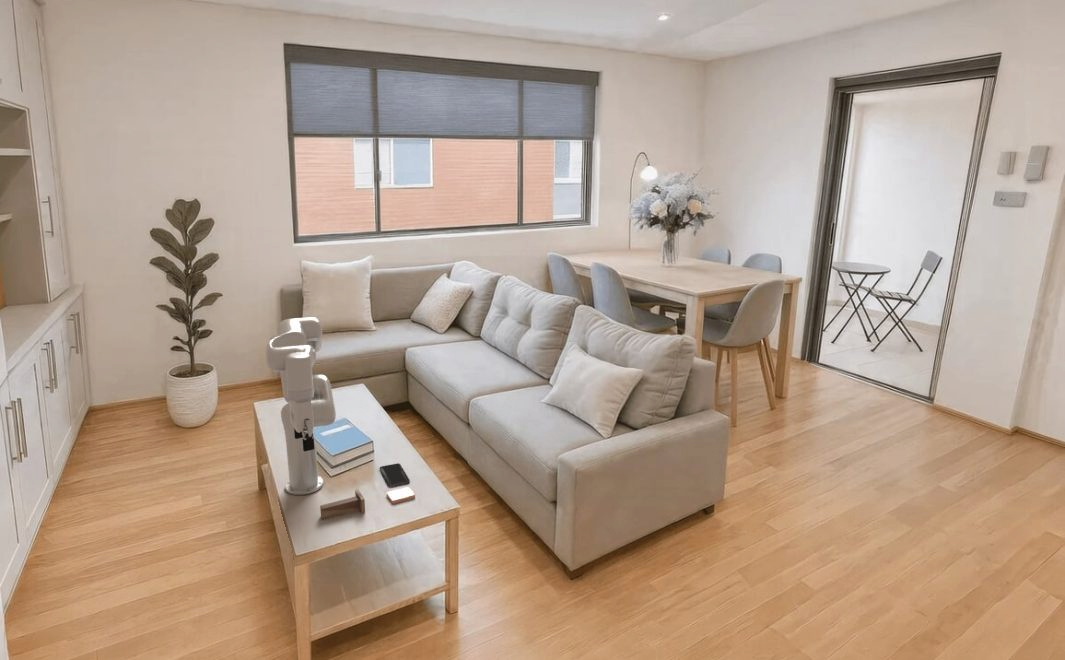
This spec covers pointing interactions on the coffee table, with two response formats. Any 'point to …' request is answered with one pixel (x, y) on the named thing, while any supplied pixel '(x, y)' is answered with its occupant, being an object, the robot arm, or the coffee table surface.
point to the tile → (400, 495)
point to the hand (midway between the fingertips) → (304, 443)
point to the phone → (394, 475)
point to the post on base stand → (343, 506)
